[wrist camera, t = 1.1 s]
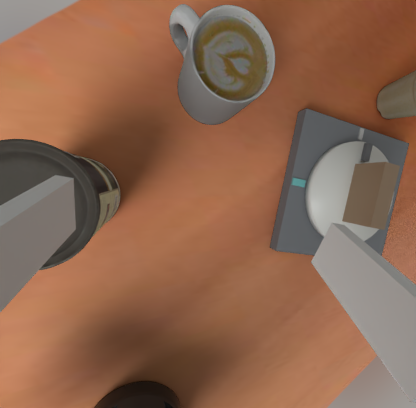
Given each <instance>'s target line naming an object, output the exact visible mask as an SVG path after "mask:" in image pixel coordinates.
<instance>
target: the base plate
mask: <svg viewBox="0 0 416 408" xmlns="http://www.w3.org/2000/svg"><path fill="white" fill-rule="evenodd" d="M354 141H362V142H366V143H371V144H373V146H375V147H377V148H378V149H379V150H380V151H381V152H382V153H383V154H384V155H385V157H386V158H387V160H388V162H389V163H391V164H395V165H398V166H400V168H399V172H398V176H397V181H396V185H395V189H394V197H393V202H392V206H391V209H390V212H389V214H388V218H387V222H386V226H385V230H382V229H379V230H378V231H377V232H376V233H375V234H374V235H373V236H371V237H370V238H369V239H367V240H365V241H364V242H365V243H366V244H368V245H369V246H370V247H371V248H372V249H374V250H375V251H376V252H377V253H378V254H380V255H381V256H382V252H383V248H384V244H385V240H386V236H387V231H388V227H389V223H390V219H391V215H392V211H393V207H394V203H395V199H396V195H397V191H398V187H399V182H400V178H401V174H402V170H403V166H404V162H405V158H406V154H407V150H408V146H409V143H406V142H403V141H400V140H397V139H394V138H391V137H388V136H385V135H383V134H380V133H377V132H374V131H371V130H368V129H365V128H362V127H359V126H356V125H354V124H351V123H348V122H345V121H342V120H339V119H336V118H333V117H330V116H327V115H324V114H322V113H319V112H316V111H313V110H310V109H307V108H306V109H304V110H302V111H299V112H298V116H297V121H296V126H295V130H294V135H293V140H292V145H291V149H290V154H289V159H288V164H287V168H286V173H285V178H284V183H283V187H282V192H281V197H280V201H279V206H278V211H277V216H276V220H275V225H274V230H273V235H272V239H271V244H270V248H272V249H274V250H275V251H282V252H290V253H298V254H306V255H314V256H315V254H316V252H317V250H318V248H319V246H320V244H321V242H322V240H323V238H324V237H323V236H321V235H320V234H319V233H318V232H317V231H316V230H315V228H314V227H313V225H312V224H311V222H310V219H309V217H308V214H307V210H306V203H305V192H306V185H307V181H308V178H309V175H310V173H311V170H312V169H313V167H314V165H315V164H316V162H317V161H318V159H319V158H320V157H321V156H322V155H323V154H324V153H325V152H326V151H328V150H329V149H331V148H332V147H334V146H336V145H339V144H343V143H348V142H354Z"/></svg>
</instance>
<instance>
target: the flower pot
mask: <svg viewBox="0 0 416 408" xmlns="http://www.w3.org/2000/svg"><path fill="white" fill-rule="evenodd" d="M377 109H378V110H379V111H380V113H381V116H382V117H384V118H386V119H393V118H401V117H410V116H416V70H415V71H414V72H412V73H410V74H408V75H406V76H404V77H402V78H400V79H399V80H397V81H395V82H393V83H391V84H389V85H387V86H385V87H384V88H383V89H382V90H381V91H380V92H379V94H378V98H377Z"/></svg>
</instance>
